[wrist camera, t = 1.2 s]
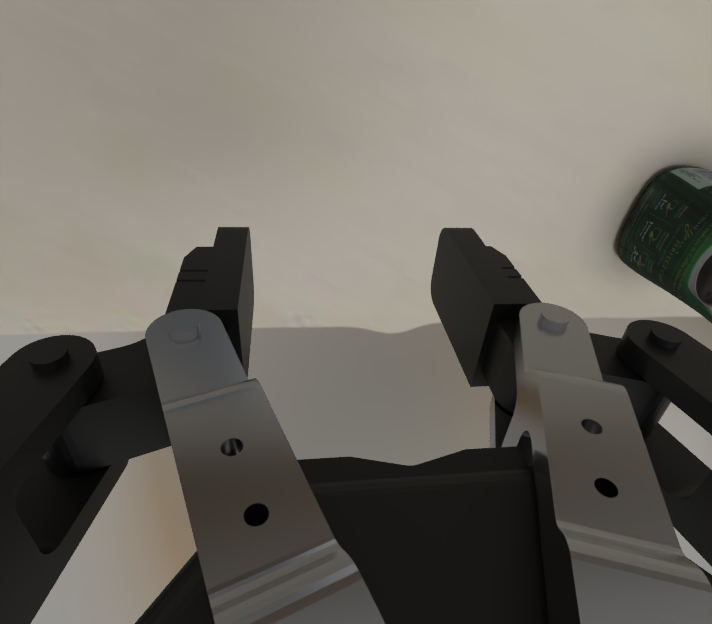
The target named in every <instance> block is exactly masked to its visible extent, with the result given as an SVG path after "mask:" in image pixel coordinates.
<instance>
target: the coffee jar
mask: <svg viewBox="0 0 712 624" xmlns="http://www.w3.org/2000/svg"><path fill="white" fill-rule="evenodd" d="M618 254H619V257H620V259H621V260H622V261H623V262H624V263H625V264H626V265H627V266H629V267H630V268H631V269H633V270H634V271H635V272H637V273H638V274H640V275H641V276H643V277H644V278H646V279H648V280H649V281H651V282H653V283H654V284H656V285H657V286H659V287H661V288H662V289H664V290H666V291H667V292H669V293H670V294H672V295H673V296H675V297H676V298H678V299H679V300H681V301H683V302H684V303H685V304H687V305H688V306H690V307H691V308H693V309H694V310H696V311H697V312H698V313H700V314H701V315H702V316H704V317H705V318H706V319H707V320H708V321H710V322H711V323H712V171H709V170H705V169H701V168H692V167H683V168H676V169H672V170H670V171H668V172H665V173H664V174H662V175H660V176H658V177H657V178H656V179H655V180H654V181H653V182H652V183H651V184H650V185H649V186H648V188H647V189H646V190H645V192H644V194H643V195H642V197H641V198H640V200H639V201H638V203H637V204H636V206H635V208H634V210H633V212H632V213H631V215H630V217H629V219H628V221H627V223H626V225H625V228H624V230H623V232H622V235H621V237H620V240H619V243H618Z"/></svg>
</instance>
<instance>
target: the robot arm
mask: <svg viewBox="0 0 712 624" xmlns="http://www.w3.org/2000/svg"><path fill="white" fill-rule="evenodd" d="M431 296H432V301H433V304H434V306H435V308H436V310H437V313H438V315H439V317H440V319H441V322H442V324H443V326H444V328H445V331H446V333H447V335H448V337H449V340H450V342H451V344H452V346H453V348H454V351H455V353H456V355H457V357H458V360H459V362H460V364H461V366H462V369H463V371H464V373H465V375H466V377H467V380H468V382H469V384H470V386H471V387H476V386H489V387H490V389H491V391H492V394H493V396H492V399H491V402H490V448H482V449H466V450H462V451H459V452H456V453H453V454H450V455H447V456H444V457H440V458H437V459H434V460H431V461H428V462H425V463H422V464H419V465H414V466H406V465H398V464H393V463H387V462H380V461H374V460H367V459H361V458H354V457H338V458H320V459H304V460H297V459H296V457H295V455H294V453H293V450H292V448H291V446H290V444H289V442H288V440H287V438H286V436H285V434H284V432H283V430H282V428H281V426H280V423H279V421H278V419H277V417H276V415H275V413H274V411H273V409H272V407H271V405H270V403H269V401H268V398H267V396H266V394H265V392H264V390H263V388H262V386H261V384H260V383H259V381H258V380H257V379H256V378H254V379H251V380H248V378H247V377H248V367H249V354H250V343H251V331H252V319H253V307H254V284H253V269H252V254H251V240H250V230H249V227H218V230H217V234H216V238H215V242H214V246H213V247H196V248H195V249H194V250H192V251H191V252H190V253H189V254H188V255H187V256H185V257H184V260H183V263H182V266H181V269H180V272H179V275H178V278H177V282H176V284H175V287H174V290H173V293H172V296H171V299H170V302H169V305H168V308H167V310H166V313H165V315H163V316H161V317H159V318H157V319H156V320H155V321H153V322H152V323H151V324H150V326H149V327H148V328H147V330H146V334H145V339H143V340H141V341H138V342H136V343H133V344H131V345H127V346H124V347H120V348H115V349H111V350H107V351H102V352H98V353H97V351H96V348H95V346H94V344H93V343H92V342H91V341H89V340H88V339H86V338H83V337H80V336H74V335H60V336H53V337H48V338H44V339H41V340H38V341H35V342H33V343H30V344H28V345H26V346H24V347H23V348H21V349H19V350H18V351H17V352H15V353H14V354H13V355H12V356H11V357H9V358H8V360H6V361H5V362H4V363H3V364H2V365H1V366H0V624H30V623H31V622H32V620H33V619H34V617H35V615H36V614H37V612H38V610H39V609H40V607H41V606H42V604H43V602H44V601H45V599H46V597H47V596H48V594H49V592H50V591H51V589H52V588H53V586H54V584H55V583H56V581H57V579H58V577H59V576H60V574H61V572H62V571H63V569H64V568H65V566H66V565H67V563H68V561H69V560H70V558H71V556H72V555H73V553H74V551H75V550H76V548H77V546H78V545H79V543H80V542H81V540H82V538H83V536H84V535H85V533H86V531H87V530H88V528H89V527H90V525H91V523H92V522H93V520H94V519H95V517H96V515H97V514H98V512H99V510H100V509H101V507H102V505H103V504H104V502H105V500H106V499H107V497H108V495H109V494H110V492H111V491H112V489H113V487H114V486H115V484H116V482H117V481H118V479H119V477H120V476H121V474H122V472H123V471H124V469H125V467H126V466H127V464H128V460H129V459H131V458H134V457H137V456H140V455H143V454H146V453H150V452H153V451H156V450H159V449H162V448H166V447H169V446H172V450H173V454H174V458H175V462H176V466H177V471H178V475H179V479H180V483H181V486H182V491H183V495H184V499H185V503H186V507H187V512H188V515H189V520H190V524H191V528H192V532H193V536H194V540H195V544H196V548H197V551H196V552H195V553H194V555H193V556H192V557H191V558H190V559H189V561H188V562H187V563H186V564H185V565H184V566H183V568H182V569H181V570H180V571H179V573H178V574H177V575H176V576H175V577H174V578H173V579H172V580H171V582H170V583H169V584H168V585H167V586H166V588H165V589H164V590H163V591H162V592H161V594H160V595H159V596H158V597H157V598H156V599H155V600H154V602H153V603H152V604H151V605H150V607H149V608H148V609H147V610H146V611H145V612H144V614H143V615H142V616H141V617H140V618H139V619H138V620H137V622H136V623H135V624H712V575H711V574H709V573H708V572H707V571H705V570H704V569H702V568H701V567H699V566H698V565H697V564H695V563H694V562H692V561H691V560H690V559H688V558H687V557H686V556H685V555H684V553H683V552H682V550H681V547H680V545H679V542H678V539H677V536H676V533H675V530H674V527H675V528H676V529H677V531H678V532H680V534H681V535H682V536H683V537H684V538H685V539H686V540H687V541H688V542H689V543H690V544H691V545H692V546H693V547H694V548H695V549H696V551H697V552H698V553H699V554H700V555H701V556H703V558H704V559H705V560H706V561H707V562H708V563H709V564H710V565H711V566H712V470H711V469H710V468H708V467H707V466H706V465H705V464H704V463H703V462H702V461H700V460H699V459H698V458H697V457H696V456H695V455H693V453H691V452H690V451H689V450H688V449H687V448H686V447H685V446H684V445H682V444H681V443H680V442H679V441H678V440H677V439H676V438H675V437H673V436H672V435H671V434H670V433H669V432H668V431H667V430H666V429H664V428H663V427H662V426H661V425H660V424H659V423H658V422H659V420H660V418H661V417H662V415H663V414H664V412H665V410H666V409H667V407H668V406H669V404H670V403H671V402H672V403H673V404H675V405H676V406H677V407H678V408H680V409H681V410H682V411H683V412H684V413H686V414H687V415H688V416H689V417H691V418H692V419H693V420H694V421H695V422H696V423H698V424H699V425H700V426H701V427H703V428H704V429H705V430H706V431H707V432H709V433H710V434H711V435H712V351H711V350H710V349H708V348H707V347H705V346H704V345H702V344H701V343H700V342H698V341H697V340H695V339H693V338H692V337H691V336H689V335H688V334H686V333H685V332H683V331H681V330H679V329H677V328H675V327H673V326H671V325H667V324H665V323H661V322H657V321H651V320H638V321H634V322H632V323H630V324H629V325H628V327H627V329H626V331H625V333H624V335H623V337H622V339H621V338H615V337H609V336H604V335H598V334H593V333H589V331H588V327H587V325H586V323H585V322H584V321H583V319H582V318H581V317H579V316H578V315H577V314H575V313H574V312H572V311H570V310H568V309H566V308H564V307H561V306H558V305H554V304H549V303H542V302H541V301H540V300H539V298H538V297H537V296H536V295H535V293H534V292H533V291H532V289H531V288H530V287H529V285H528V284H527V283H526V281H525V280H524V279H523V278H521V275H520V274H519V272H518V271H517V270H516V269H514V266H513V265H512V263H511V262H510V261H509V259H508V258H507V257H506V256H505V255H504V254H502V253H501V252H499V251H497V250H496V249H494V248H493V247H491V246H485V244H484V243H483V242H482V240H481V239H480V238H479V236H478V235H477V233H476V232H475V231H474V229H472V228H443V229H442V231H441V233H440V236H439V241H438V247H437V252H436V258H435V263H434V268H433V274H432V280H431ZM673 526H674V527H673Z"/></svg>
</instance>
